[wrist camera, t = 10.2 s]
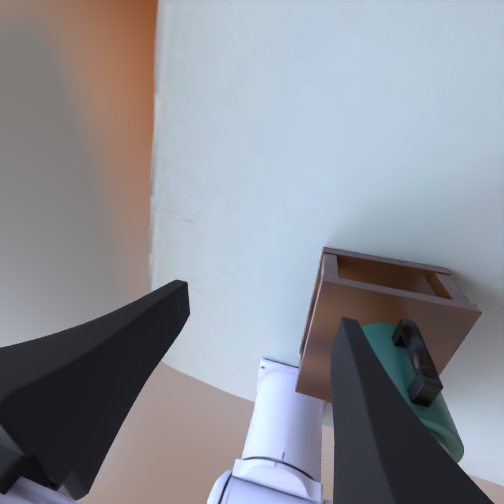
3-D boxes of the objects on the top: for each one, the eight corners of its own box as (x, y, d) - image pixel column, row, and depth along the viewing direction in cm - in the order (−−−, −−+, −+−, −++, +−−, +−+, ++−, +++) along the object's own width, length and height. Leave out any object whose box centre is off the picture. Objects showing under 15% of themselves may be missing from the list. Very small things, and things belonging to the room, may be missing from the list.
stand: (392, 371, 24) (406, 424, 20) (300, 347, 26) (294, 392, 22) (446, 268, 18) (482, 312, 14) (323, 246, 20) (322, 280, 16)
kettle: (395, 396, 19) (428, 527, 13) (333, 379, 20) (336, 494, 14) (445, 311, 15) (529, 445, 9) (363, 294, 16) (387, 405, 9)
